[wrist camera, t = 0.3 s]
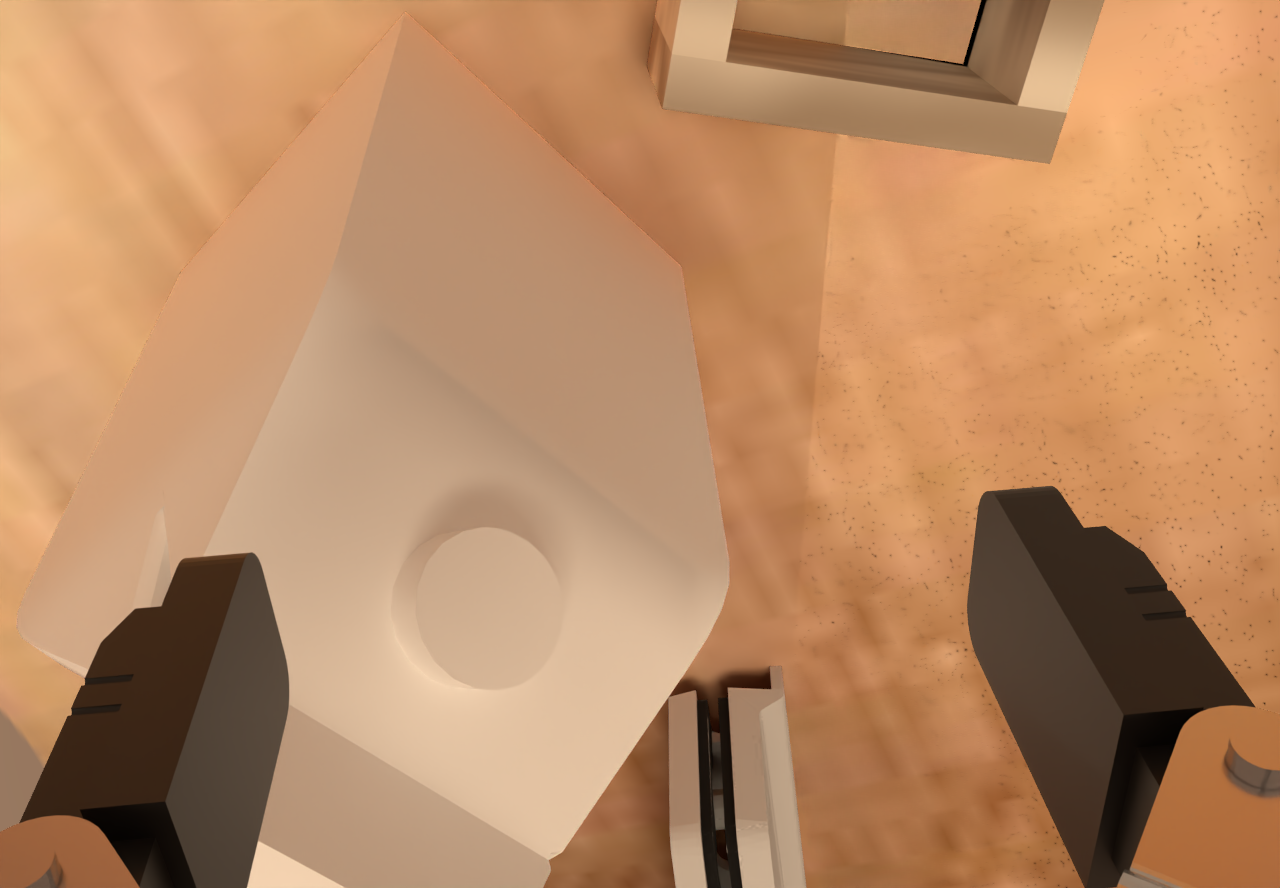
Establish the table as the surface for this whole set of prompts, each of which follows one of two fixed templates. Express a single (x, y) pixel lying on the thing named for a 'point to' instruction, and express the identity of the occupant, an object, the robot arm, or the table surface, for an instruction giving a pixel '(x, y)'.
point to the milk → (419, 481)
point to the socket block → (883, 78)
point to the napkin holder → (734, 791)
